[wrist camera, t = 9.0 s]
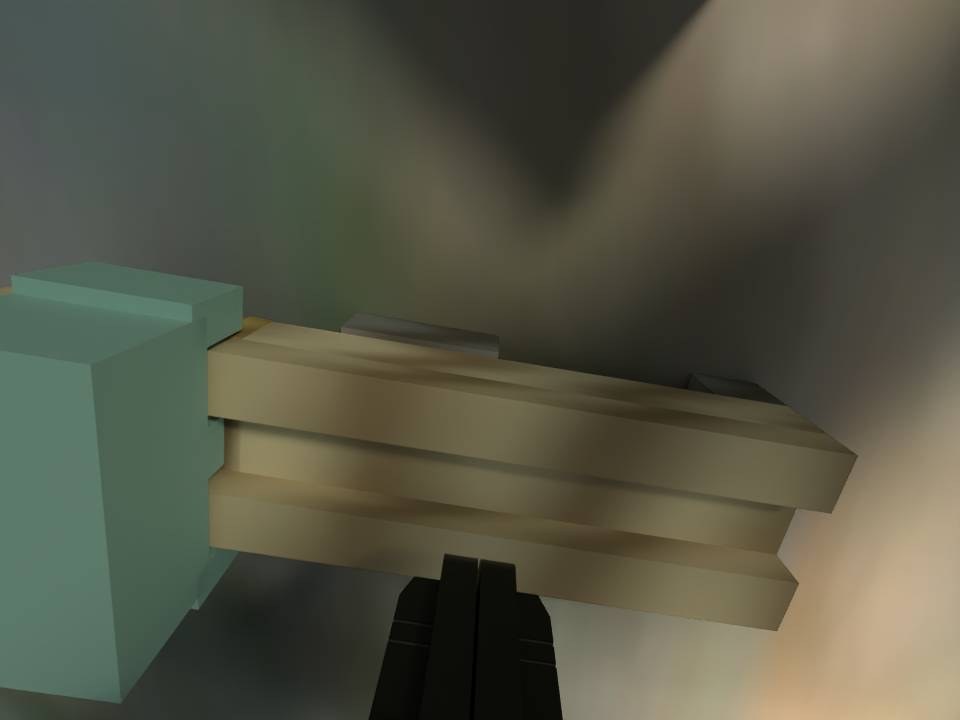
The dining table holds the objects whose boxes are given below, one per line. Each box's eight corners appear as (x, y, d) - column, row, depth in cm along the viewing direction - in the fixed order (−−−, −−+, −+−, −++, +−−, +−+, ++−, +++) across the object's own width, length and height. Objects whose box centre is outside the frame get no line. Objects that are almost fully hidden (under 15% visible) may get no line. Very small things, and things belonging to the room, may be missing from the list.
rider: (242, 286, 13) (88, 342, 8) (239, 551, 16) (122, 716, 11) (93, 261, 13) (-158, 302, 8) (115, 532, 16) (-61, 691, 11)
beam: (758, 378, 18) (896, 473, 12) (703, 526, 20) (798, 672, 14) (83, 267, 17) (-143, 306, 11) (98, 432, 19) (-87, 543, 13)
